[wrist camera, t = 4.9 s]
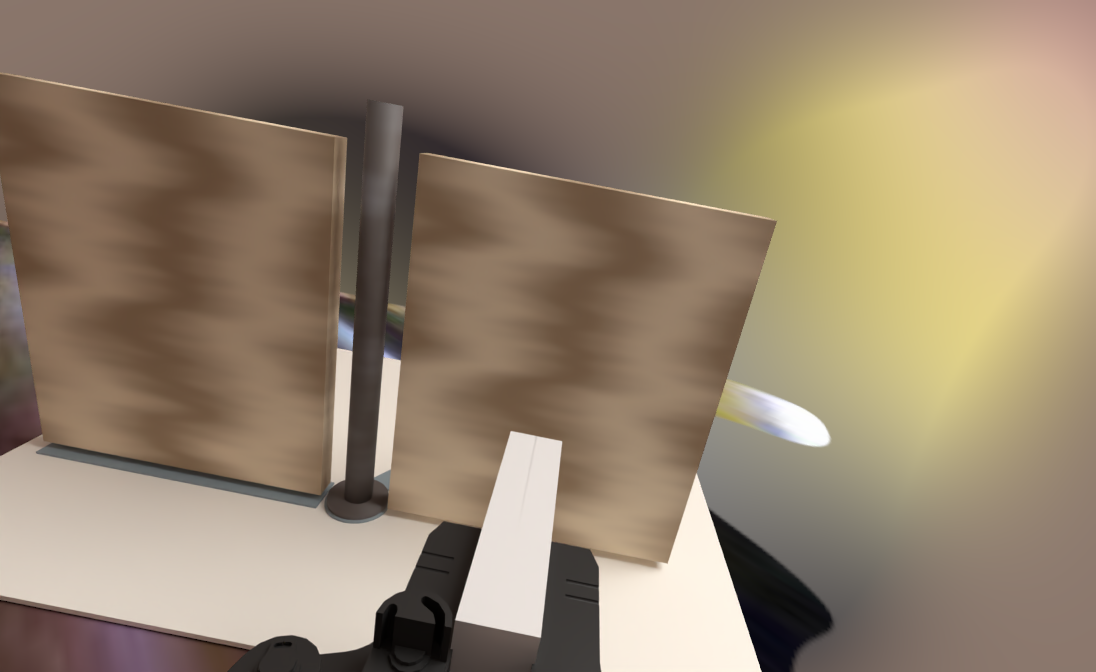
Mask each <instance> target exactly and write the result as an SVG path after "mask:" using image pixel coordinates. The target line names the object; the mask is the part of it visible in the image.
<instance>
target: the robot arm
mask: <svg viewBox="0 0 1096 672" xmlns="http://www.w3.org/2000/svg"><path fill="white" fill-rule="evenodd" d="M561 448H562V441H558V440H553V439H548V438H543V437H538V436H533V435H528V434H523V433H518V432H513V431H511V432H510V436H509V439H508V442H507V446H506V449H505V453H504V456H503V459H502V463H501V466H500V470H499V473H498V476H497V480H496V483H495V487H494V490H493V493H492V497H491V500H490V503H489V507H488V510H487V514H486V517H485V520H484V524H483V527H482V529H481V528H476V527H471V526H466V525H461V524H456V523H451V522H446V521H443V522H442V523H441V524H440V525H439V526H438V527H436V528H435V529H434V530H433V531H432V532H431V533H430V534H429V535H428V538H427V540H426V542H425V545H424V547H423V549H422V553H421V554H420V556H419V559H418V561H417V563H416V567H415V569H414V570H413V573H412V575H411V577H410V580H409V582H408V584H407V587H406V589H405V591H403V592H399V593H396V594H394V595H393V596H391V597H390V598H388V599H387V600H385V601H384V602H383V603H382V605H381V606H380V607H379V609H378V610H377V611H376V617H375V628H374V639H373V642H372V643H370V644H369V645H366V646H364V647H361V648H359V649H356V650H351V651H346V652H337V653H327V654H319V651H318V649H317V646H315V645H314V644H313V643H312V642H310V641H309V640H308V639H307V638H303V637H299V636H295V635H287V636H276V637H274V638H271V639H269V640H266V641H264V642H261V643H259V644H258V645H256V646H255V647H254V648H252V649H251V650H250V651H248V652H247V653H246V654H245V655H244V656H243V657H242V658H241V659H239V660H238V661H237V662H236V663H235V664H234V665H233V666H232V667H231V668H230V669H229V670H228V671H227V672H601V666H600V619H599V566H598V564H597V562H596V560H595V558H594V556H593V554H592V552H591V550H590V549H586V548H582V547H577V546H572V545H567V544H562V543H557V542H552V541H551V540H552V531H553V521H554V512H555V503H556V494H557V485H558V476H559V467H560V457H561Z"/></svg>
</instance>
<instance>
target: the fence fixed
mask: <svg viewBox="0 0 1096 672" xmlns="http://www.w3.org/2000/svg"><path fill="white" fill-rule="evenodd" d="M402 117H403V106H399V105H394V104H389V103H383V102H378V101H373V100H367V112H366V128H365V145H364V162H363V180H362V197H361V214H360V232H359V250H358V267H357V283H356V300H355V317H354V335H353V352H352V369H351V386H350V404H349V421H348V438H347V455H346V472H345V480H343V481H341V482H339V483H337V484H336V485H334V486H333V487H332V488H331V489H330V490H329V492H328V495H327V507H328V509H329V511H330V512H331V513H332V514H334V515H335V516H337V517H339V518H342V519H347V520H363V519H368V518H371V517H374V516H376V515H378V514H379V513H381V512H382V511H383V510H384V509H385V507H386V506H387V504H388V496H389V493H388V490H387V488H386V487H385V485H383V484H382V483H381V482H379V481H377V480H374V469H375V457H376V444H377V432H378V419H379V406H380V394H381V381H382V369H383V356H384V343H385V331H386V318H387V306H388V293H389V280H390V268H391V255H392V243H393V229H394V218H395V205H396V192H397V180H398V179H397V178H398V167H399V154H400V141H401V129H402ZM346 148H347V138H346V137H341V136H335V135H330V134H325V133H319V132H314V131H309V130H304V129H299V128H293V127H288V126H283V125H277V124H272V123H267V122H261V121H256V120H251V119H246V118H240V117H235V116H230V115H225V114H220V113H214V112H209V111H204V110H198V109H193V108H188V107H182V106H177V105H172V104H166V103H162V102H156V101H151V100H145V99H141V98H135V97H130V96H124V95H119V94H114V93H108V92H103V91H98V90H93V89H88V88H83V87H77V86H72V85H67V84H61V83H56V82H51V81H46V80H40V79H35V78H30V77H24V76H19V75H14V74H7V73H0V175H1V182H2V188H3V194H4V200H5V206H6V212H7V219H8V225H9V231H10V237H11V243H12V249H13V256H14V262H15V268H16V274H17V280H18V286H19V292H20V299H21V305H22V311H23V317H24V323H25V329H26V336H27V342H28V348H29V354H30V360H31V366H32V373H33V379H34V385H35V391H36V397H37V403H38V410H39V416H40V422H41V428H42V434H43V440H44V441H46V442H51V443H56V444H61V445H66V446H71V447H76V448H82V449H87V450H92V451H97V452H102V453H107V454H112V455H117V456H122V457H127V458H132V459H138V460H143V461H148V462H153V463H158V464H163V465H168V466H173V467H178V468H183V469H188V470H193V471H199V472H204V473H209V474H214V475H219V476H224V477H229V478H234V479H239V480H244V481H249V482H255V483H260V484H265V485H270V486H275V487H280V488H285V489H290V490H295V491H300V492H305V493H311V494H316V495H321V494H322V493H323V491H324V490H325V489H326V488H327V486H328V485H329V484H330V482H331V466H332V445H333V424H334V402H335V381H336V360H337V339H338V318H339V297H340V276H341V255H342V234H343V211H344V192H345V190H344V189H345V170H346Z"/></svg>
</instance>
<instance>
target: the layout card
mask: <svg viewBox="0 0 1096 672" xmlns="http://www.w3.org/2000/svg"><path fill="white" fill-rule="evenodd" d="M352 352H353V351H348V350H343V349H338V348H337V360H336V381H335V402H334V424H333V445H332V466H331V482H330V484H329V485H328V486H327V488H326V489H325V490H324V491H323V493H322V494H321V495H316V494H311V493H305V492H300V491H295V490H290V489H285V488H280V487H275V486H270V485H265V484H260V483H255V482H249V481H244V480H239V479H234V478H229V477H224V476H219V475H214V474H209V473H204V472H199V471H193V470H188V469H183V468H178V467H173V466H168V465H163V464H158V463H153V462H148V461H143V460H138V459H132V458H127V457H122V456H117V455H112V454H107V453H102V452H97V451H92V450H87V449H82V448H76V447H71V446H66V445H61V444H56V443H51V442H46V441H44V440H43V434H42V435H40V436H38V437H36V438H34V439H32V440H31V441H29V442H27V443H25V444H23V445H21V446H19V447H17V448H15V449H13V450H12V451H10V452H8V453H6V454H4V455H2V456H0V600H4V601H9V602H14V603H19V604H24V605H29V606H34V607H39V608H44V609H49V610H54V611H59V612H64V613H69V614H74V615H79V616H84V617H89V618H94V619H99V620H104V621H109V622H114V623H119V624H124V625H129V626H134V627H139V628H144V629H149V630H154V631H159V632H164V633H169V634H174V635H179V636H184V637H189V638H194V639H199V640H204V641H209V642H214V643H219V644H224V645H229V646H234V647H239V648H244V649H249V650H251V649H252V648H254V647H255V646H256V645H258V644H259V643H261V642H264V641H266V640H269V639H271V638H274V637H276V636H287V635H295V636H299V637H303V638H307V639H308V640H309V641H310V642H312V643H313V644H314V645H315V646H317V649H318V651H319V654H327V653H337V652H346V651H351V650H356V649H359V648H361V647H364V646H366V645H369V644H370V643H372V642H373V639H374V628H375V617H376V611H377V610H378V609H379V607H380V606H381V605H382V603H383V602H384V601H385V600H387V599H388V598H390V597H391V596H393V595H394V594H396V593H399V592H403V591H405V589H406V587H407V584H408V582H409V580H410V577H411V575H412V573H413V570H414V569H415V567H416V563H417V561H418V559H419V556H420V554H421V553H422V549H423V547H424V545H425V542H426V540H427V538H428V535H429V534H430V533H431V532H432V531H433V530H434V529H435V528H436V527H438V526H439V525H440V524H441V523H442V522H443V521H446V522H451V523H456V524H461V525H466V526H471V527H476V528H481V529H482V527H479V526H473V525H468V524H463V523H458V522H453V521H448V520H443V519H438V518H433V517H428V516H423V515H417V514H412V513H407V512H402V511H397V510H392V509H387V506H388V504H387V506H386V507H385V509H384V510H383V511H382V512H381V513H379V514H378V515H376V516H374V517H371V518H368V519H363V520H347V519H342V518H339V517H337V516H335V515H334V514H332V513H331V512H330V511H329V509H328V507H327V495H328V492H329V490H330V489H331V488H332V487H333V486H334V485H336V484H337V483H339V482H341V481H343V480H345V472H346V455H347V438H348V421H349V404H350V386H351V369H352ZM400 365H401V361H400V360H395V359H390V358H385V357H383V369H382V381H381V394H380V406H379V419H378V432H377V444H376V457H375V469H374V480H377V481H379V482H381V483H382V484H383V485H385V487H386V488H387V490H388V493H389V485H390V474H391V463H392V452H393V441H394V430H395V419H396V408H397V397H398V386H399V375H400ZM552 542H555V541H552ZM557 543H560V542H557ZM562 544H565V543H562ZM567 545H570V544H567ZM572 546H575V545H572ZM577 547H580V546H577ZM582 548H585V547H582ZM586 549H590V548H586ZM590 550H591V552H592V554H593V556H594V558H595V560H596V562H597V564H598V566H599V619H600V666H601V672H761V669H760V666H759V663H758V660H757V657H756V654H755V651H754V648H753V645H752V642H751V638H750V635H749V632H748V629H747V626H746V623H745V620H744V617H743V614H742V611H741V608H740V605H739V602H738V599H737V596H736V593H735V590H734V587H733V583H732V580H731V577H730V574H729V571H728V568H727V565H726V562H725V559H724V556H723V553H722V550H721V547H720V544H719V541H718V538H717V535H716V531H715V528H714V525H713V522H712V519H711V516H710V513H709V510H708V507H707V504H706V501H705V498H704V495H703V492H702V489H701V486H700V483H699V480H698V477H697V473H696V476H695V479H694V483H693V486H692V489H691V492H690V495H689V498H688V501H687V505H686V508H685V511H684V514H683V517H682V520H681V523H680V526H679V530H678V533H677V536H676V539H675V542H674V545H673V548H672V552H671V555H670V558H669V561H668V564H667V563H662V562H657V561H652V560H646V559H641V558H636V557H631V556H626V555H621V554H616V553H611V552H606V551H601V550H596V549H590Z"/></svg>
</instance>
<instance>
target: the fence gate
mask: <svg viewBox="0 0 1096 672" xmlns="http://www.w3.org/2000/svg"><path fill="white" fill-rule="evenodd" d="M776 222H777V221H775V220H772V219H770V218H767V217H761V216H757V215H751V214H746V213H741V212H736V211H730V210H725V209H720V208H714V207H709V206H704V205H699V204H693V203H688V202H683V201H678V200H672V199H666V198H661V197H657V196H651V195H646V194H641V193H636V192H629V191H625V190H620V189H614V188H609V187H604V186H598V185H593V184H588V183H583V182H577V181H572V180H567V179H561V178H556V177H551V176H546V175H541V174H535V173H530V172H525V171H520V170H514V169H509V168H503V167H498V166H493V165H488V164H482V163H478V162H471V161H467V160H461V159H456V158H451V157H446V156H441V155H435V154H430V153H420V158H419V168H418V179H417V190H416V201H415V212H414V223H413V234H412V245H411V255H410V267H409V277H408V288H407V300H406V310H405V321H404V332H403V343H402V354H401V365H400V375H399V386H398V397H397V408H396V419H395V430H394V441H393V452H392V463H391V474H390V485H389V496H388V506H387V509H392V510H397V511H402V512H407V513H412V514H417V515H423V516H428V517H433V518H438V519H443V520H448V521H453V522H458V523H463V524H468V525H473V526H479V527H483V524H484V520H485V517H486V514H487V510H488V507H489V503H490V500H491V497H492V493H493V490H494V487H495V483H496V480H497V476H498V473H499V470H500V466H501V463H502V459H503V456H504V453H505V449H506V446H507V442H508V439H509V436H510V432H511V431H513V432H518V433H523V434H528V435H533V436H538V437H543V438H548V439H553V440H558V441H562V448H561V457H560V467H559V476H558V485H557V494H556V503H555V512H554V521H553V531H552V540H551V541H555V542H560V543H565V544H570V545H575V546H580V547H585V548H590V549H596V550H601V551H606V552H611V553H616V554H621V555H626V556H631V557H636V558H641V559H646V560H652V561H657V562H662V563H667V564H668V561H669V558H670V555H671V552H672V548H673V545H674V542H675V539H676V536H677V533H678V530H679V526H680V523H681V520H682V517H683V514H684V511H685V508H686V505H687V501H688V498H689V495H690V492H691V489H692V486H693V483H694V479H695V476H696V473H697V470H698V467H699V463H700V460H701V457H702V454H703V451H704V448H705V445H706V442H707V439H708V436H709V432H710V429H711V426H712V423H713V420H714V417H715V414H716V410H717V407H718V404H719V401H720V398H721V395H722V392H723V388H724V385H725V382H726V379H727V375H728V373H729V369H730V366H731V363H732V360H733V357H734V354H735V351H736V348H737V344H738V341H739V338H740V335H741V332H742V329H743V326H744V322H745V319H746V316H747V313H748V310H749V307H750V304H751V301H752V297H753V294H754V291H755V288H756V285H757V282H758V278H759V276H760V272H761V269H762V266H763V263H764V260H765V257H766V253H767V250H768V247H769V244H770V241H771V238H772V234H773V232H774V228H775V225H776Z"/></svg>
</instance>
